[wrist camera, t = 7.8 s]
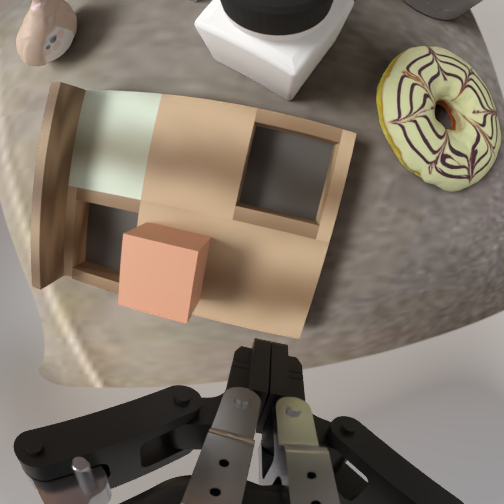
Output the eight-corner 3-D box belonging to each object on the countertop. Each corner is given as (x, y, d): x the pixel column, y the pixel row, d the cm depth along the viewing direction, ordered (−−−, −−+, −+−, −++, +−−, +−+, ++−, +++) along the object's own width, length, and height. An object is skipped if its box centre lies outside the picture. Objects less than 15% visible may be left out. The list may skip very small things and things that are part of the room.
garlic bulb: (93, 45, 21) (42, 18, 13) (44, 81, 22) (-11, 68, 14) (83, 2, 19) (38, -28, 12) (36, 36, 20) (-12, 18, 13)
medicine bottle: (336, 39, 20) (379, -42, 8) (289, 103, 22) (305, 45, 10) (261, -1, 19) (252, -94, 8) (212, 59, 21) (165, -16, 9)
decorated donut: (451, 212, 23) (476, 220, 19) (345, 134, 22) (359, 128, 18) (495, 113, 20) (521, 110, 16) (400, 34, 19) (419, 16, 15)
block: (146, 222, 22) (123, 233, 18) (211, 236, 22) (198, 251, 18) (140, 283, 24) (118, 304, 20) (200, 299, 24) (186, 323, 20)
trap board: (91, 95, 22) (51, 82, 16) (348, 136, 22) (371, 127, 16) (70, 264, 26) (32, 286, 21) (297, 324, 26) (302, 364, 21)
